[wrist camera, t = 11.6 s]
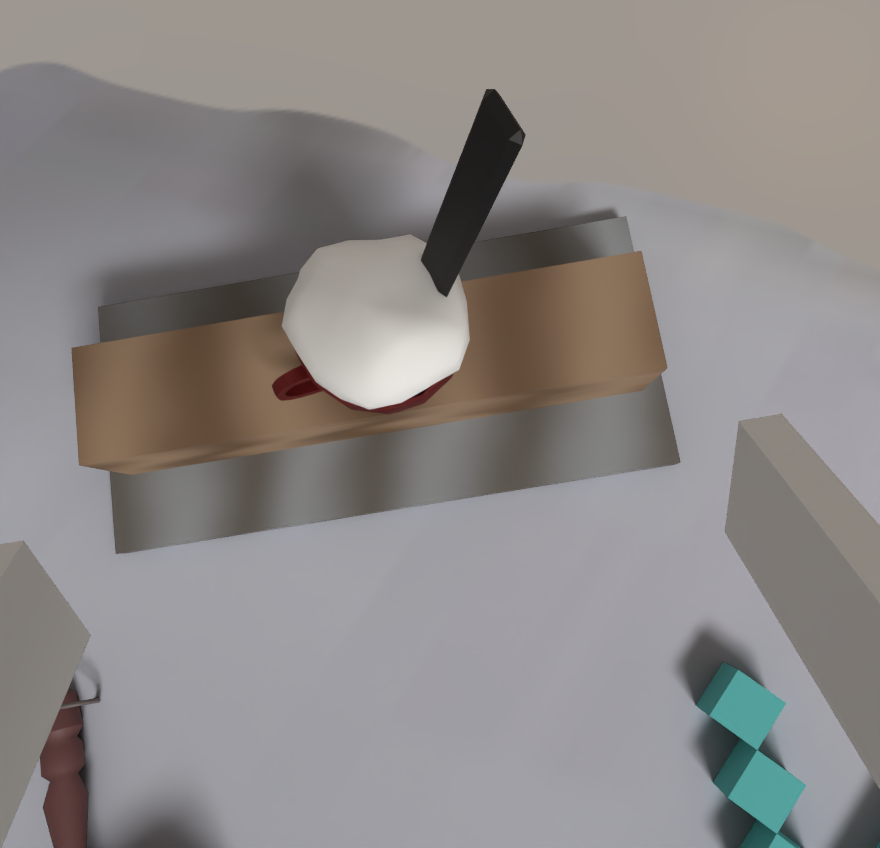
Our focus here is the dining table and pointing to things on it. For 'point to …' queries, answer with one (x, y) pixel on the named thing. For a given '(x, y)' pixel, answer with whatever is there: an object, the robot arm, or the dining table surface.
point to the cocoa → (398, 292)
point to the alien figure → (752, 756)
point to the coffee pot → (66, 776)
